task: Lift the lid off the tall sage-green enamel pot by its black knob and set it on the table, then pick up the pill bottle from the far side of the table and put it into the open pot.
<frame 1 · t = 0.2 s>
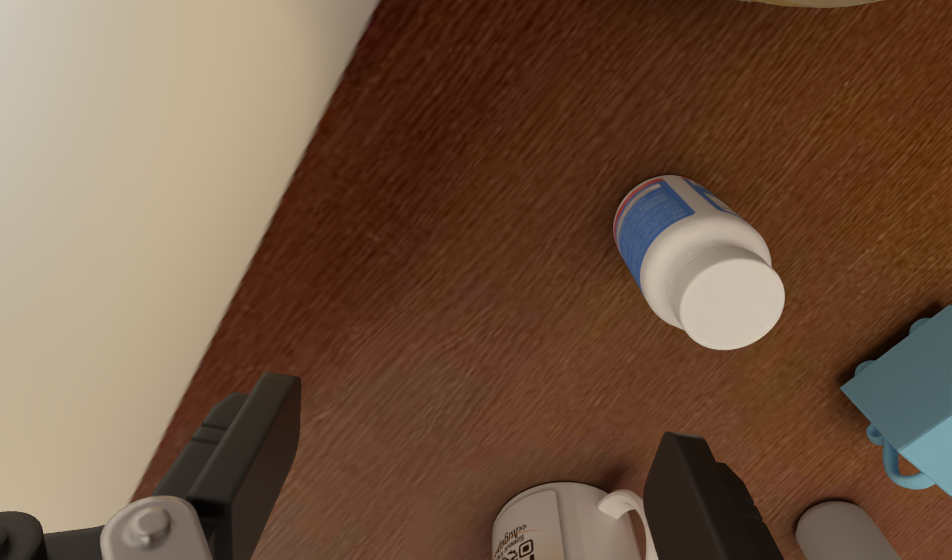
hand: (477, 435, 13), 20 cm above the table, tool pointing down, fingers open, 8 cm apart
beverage can: (826, 520, 40), on the table
pill bottle: (662, 221, 32), on the table
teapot: (925, 355, 35), on the table
mug: (575, 524, 41), on the table
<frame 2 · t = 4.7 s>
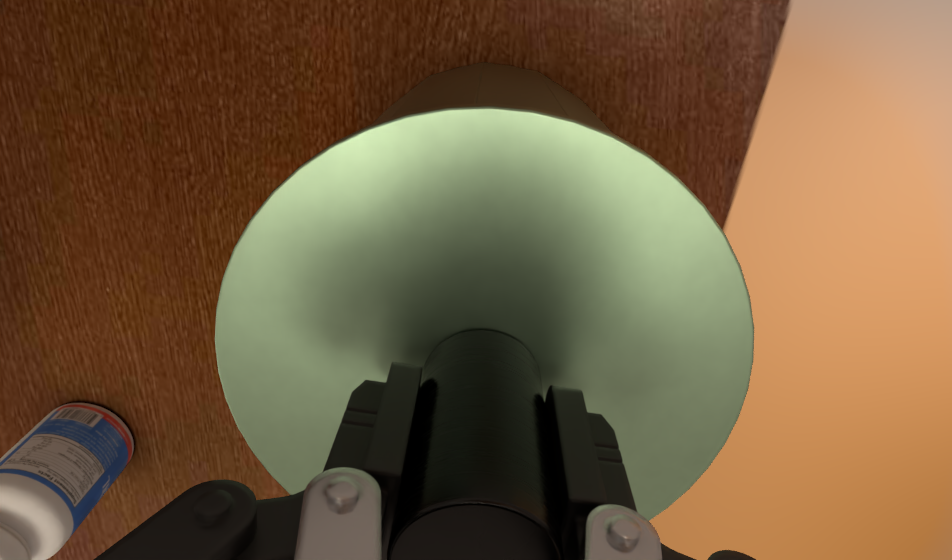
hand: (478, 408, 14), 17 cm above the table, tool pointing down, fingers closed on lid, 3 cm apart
lid: (481, 369, 15), point 16 cm above the table, touching gripper, pot
pill bottle: (95, 432, 37), on the table
pot: (487, 195, 29), on the table
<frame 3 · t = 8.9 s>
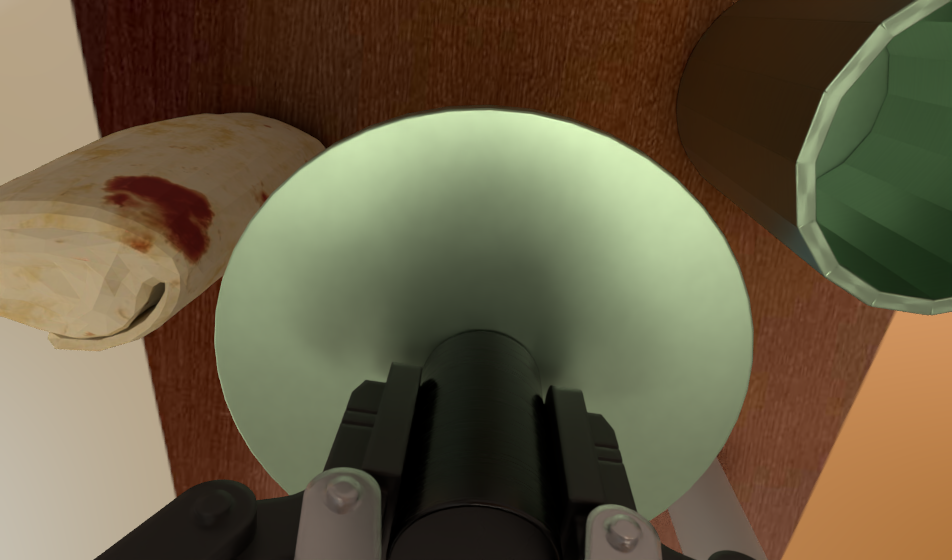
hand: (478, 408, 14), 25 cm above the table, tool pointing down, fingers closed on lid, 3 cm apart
lid: (481, 370, 15), point 24 cm above the table, touching gripper
beverage can: (683, 459, 47), on the table
food model: (258, 151, 37), on the table
pot: (783, 96, 35), on the table
when the fingers open (2 cm above the table, at t = 13.2 s): lid stays where it is, point 1 cm above the table.
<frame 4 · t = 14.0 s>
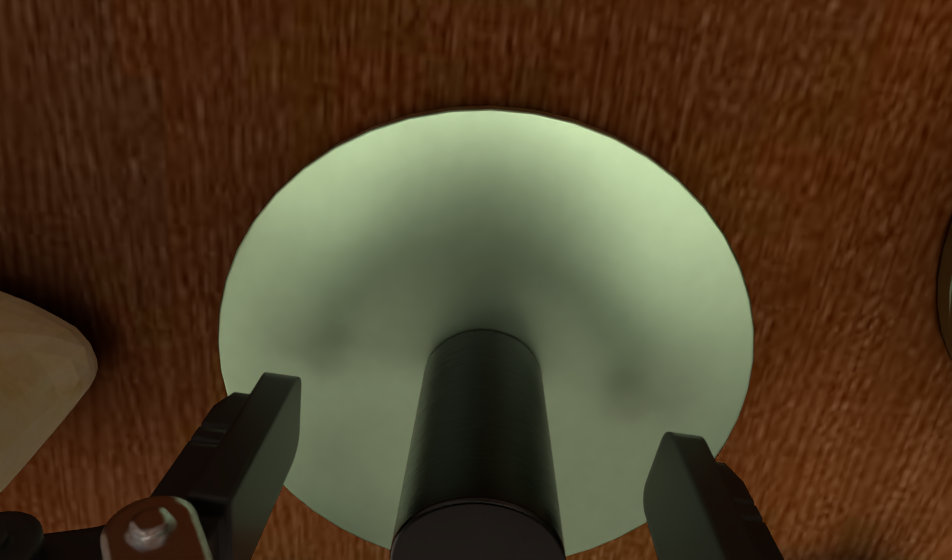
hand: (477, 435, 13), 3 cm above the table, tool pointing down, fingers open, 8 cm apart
lid: (483, 369, 15), point 1 cm above the table
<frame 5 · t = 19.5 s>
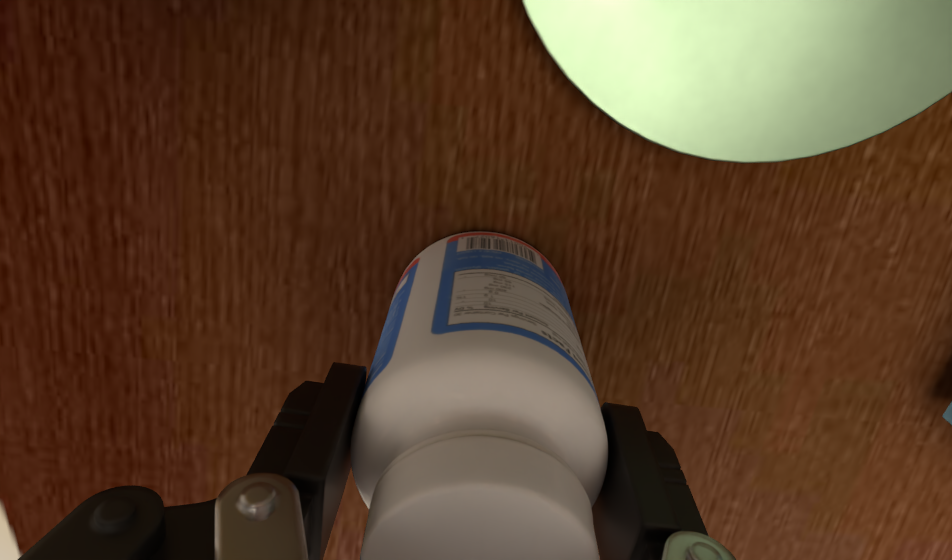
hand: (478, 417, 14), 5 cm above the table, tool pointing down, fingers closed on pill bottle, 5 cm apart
pill bottle: (482, 304, 19), on the table, touching gripper
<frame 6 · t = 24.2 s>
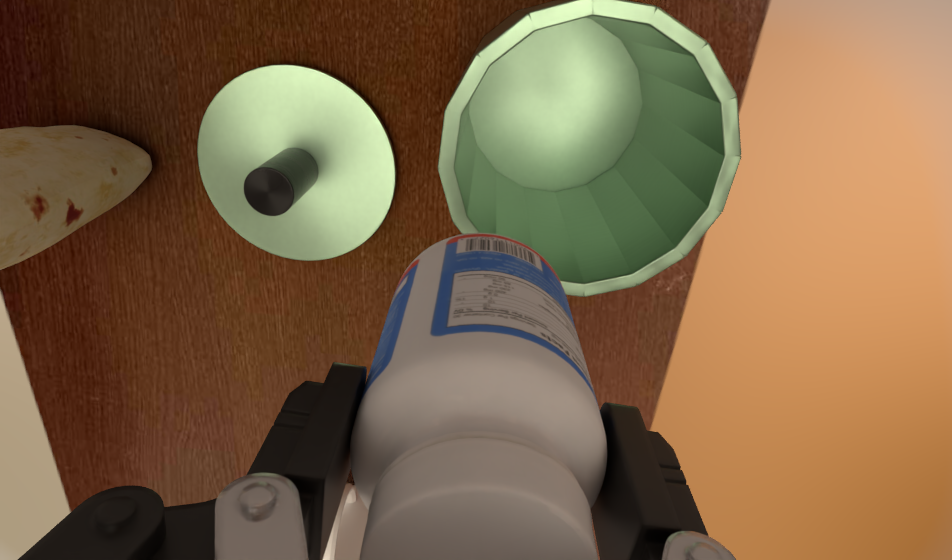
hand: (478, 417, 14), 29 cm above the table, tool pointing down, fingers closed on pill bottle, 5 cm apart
lid: (298, 167, 40), point 1 cm above the table
pill bottle: (482, 305, 19), point 23 cm above the table, touching gripper
food model: (96, 159, 41), on the table
mug: (357, 513, 55), on the table
pot: (554, 106, 39), on the table
when the fingers open (13 cm above the table, at t = 29.6 s): pill bottle stays where it is, resting on pot.
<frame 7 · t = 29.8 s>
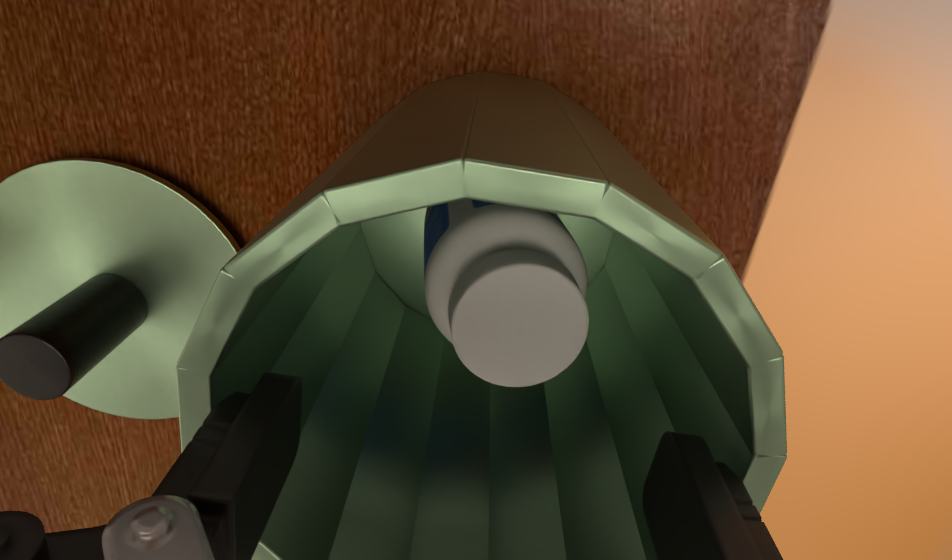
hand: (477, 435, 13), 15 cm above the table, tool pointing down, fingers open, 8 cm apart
lid: (121, 298, 28), point 1 cm above the table
pill bottle: (487, 221, 26), point 1 cm above the table, touching pot
pot: (487, 219, 26), on the table
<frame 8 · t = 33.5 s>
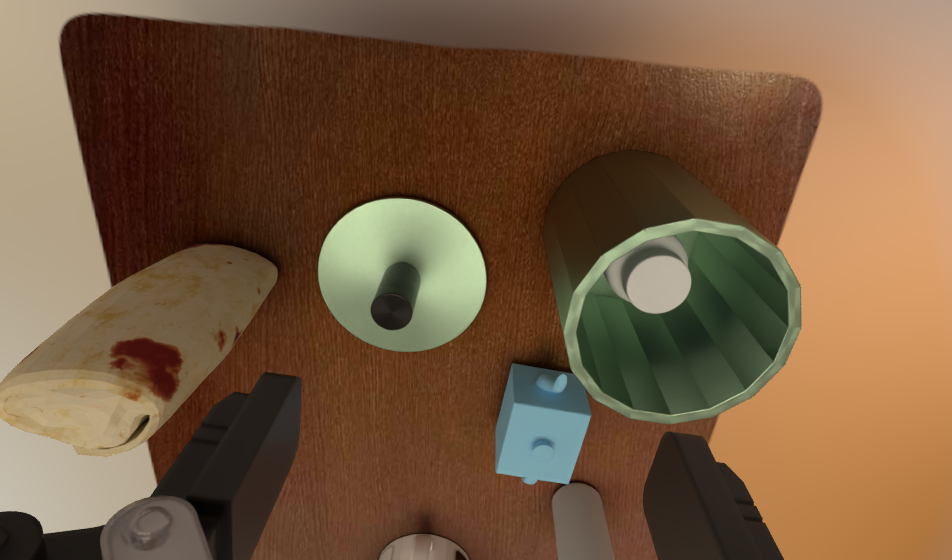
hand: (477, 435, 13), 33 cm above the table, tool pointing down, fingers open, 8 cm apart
lid: (403, 277, 47), point 1 cm above the table
beverage can: (575, 496, 58), on the table
pill bottle: (624, 230, 45), resting on pot
food model: (227, 266, 48), on the table
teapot: (539, 386, 52), on the table
mug: (428, 558, 62), on the table
pot: (623, 230, 46), on the table
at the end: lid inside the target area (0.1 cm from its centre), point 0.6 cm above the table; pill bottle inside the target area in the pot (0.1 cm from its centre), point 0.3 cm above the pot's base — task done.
